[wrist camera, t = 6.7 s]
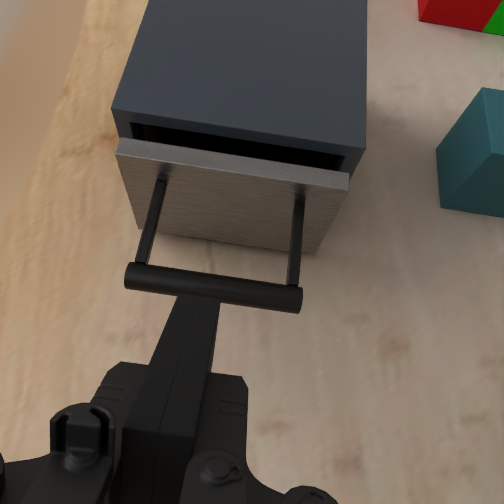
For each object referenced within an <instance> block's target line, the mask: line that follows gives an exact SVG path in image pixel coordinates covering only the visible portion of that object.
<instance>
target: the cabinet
mask: <svg viewBox="0 0 504 504" xmlns="http://www.w3.org/2000/svg"><path fill="white" fill-rule="evenodd" d="M366 80H367V0H149V2H148V5H147V8H146V10H145V13H144V16H143V19H142V22H141V24H140V27H139V30H138V33H137V36H136V38H135V41H134V44H133V47H132V50H131V52H130V55H129V58H128V61H127V64H126V66H125V69H124V72H123V75H122V78H121V81H120V83H119V86H118V89H117V92H116V95H115V97H114V100H113V103H112V106H111V110H112V114H113V117H114V121H115V124H116V128H117V131H118V135H119V138H120V137H125V138H131V139H137V140H144V141H146V139H145V134H144V129H143V124H147V125H153V126H160V127H166V128H172V129H179V130H185V131H191V132H198V133H204V134H210V135H217V136H223V137H229V138H235V139H242V140H248V141H254V142H261V143H267V144H273V145H280V146H286V147H292V148H299V149H305V150H311V151H317V152H324V153H330V154H334V156H333V158H332V160H331V163H330V165H329V167H328V170H334V171H341V172H347V173H349V180H350V178H351V176H352V174H353V172H354V170H355V168H356V166H357V165H358V163H359V161H360V159H361V157H362V155H363V153H364V151H365V149H366Z"/></svg>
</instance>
